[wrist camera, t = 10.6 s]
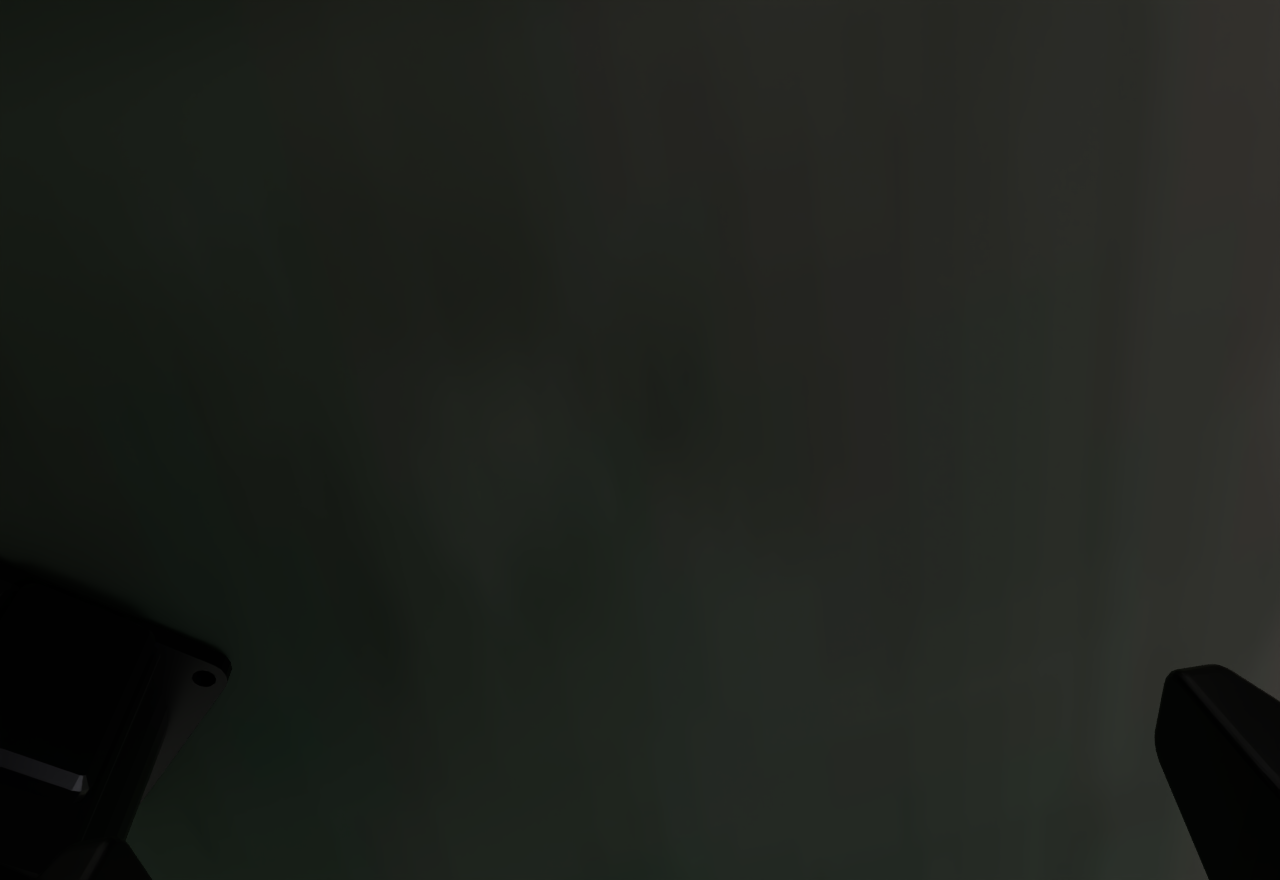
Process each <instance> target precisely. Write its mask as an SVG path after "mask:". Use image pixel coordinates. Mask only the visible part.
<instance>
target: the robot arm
mask: <svg viewBox="0 0 1280 880" xmlns="http://www.w3.org/2000/svg"><path fill="white" fill-rule="evenodd" d="M202 670H203V671H208V672H210V673H212V674H208V673H204V672H202ZM231 670H232V666H231V662H230V661H229V660H228V659H227V657H226V656H224V655H222V654H221V653H219V652H217V651H214V650H212V649H210V648H207V647H205V646H202V645H200V644H197V643H195V642H192V641H190V640H188V639H185V638H183V637H180V636H178V635H175V634H173V633H170V632H168V631H166V630H163V629H161V628H158V627H156V626H153V625H151V624H148V623H146V622H144V621H141V620H139V619H136V618H134V617H131V616H129V615H126V614H124V613H122V612H119V611H117V610H114V609H112V608H109V607H107V606H105V605H102V604H100V603H97V602H95V601H92V600H90V599H87V598H85V597H83V596H80V595H78V594H75V593H73V592H70V591H68V590H65V589H63V588H61V587H58V586H56V585H53V584H51V583H48V582H46V581H43V580H41V579H39V578H36V577H34V576H31V575H29V574H26V573H24V572H21V571H19V570H17V569H14V568H12V567H9V566H7V565H4V564H2V563H0V880H152V878H151V877H150V876H149V874H148V873H147V871H146V870H145V868H144V867H143V865H142V864H141V862H140V861H139V859H138V858H137V856H136V855H135V854H134V852H133V851H132V849H131V848H130V846H129V845H128V844H127V842H126V841H125V840H126V838H127V835H128V832H129V830H130V827H131V825H132V822H133V819H134V817H135V814H136V812H137V809H138V806H139V805H140V804H141V802H142V801H143V799H144V798H145V797H146V795H147V794H148V793H149V791H150V790H151V788H152V787H153V786H154V784H155V783H156V782H157V780H158V779H159V777H160V776H161V775H162V773H163V772H164V771H165V769H166V768H167V767H168V765H169V764H170V762H171V761H172V760H173V758H174V757H175V756H176V754H177V753H178V751H179V750H180V749H181V747H182V746H183V745H184V743H185V742H186V740H187V739H188V738H189V736H190V735H191V734H192V732H193V731H194V730H195V728H196V727H197V725H198V724H199V723H200V721H201V720H202V719H203V717H204V716H205V714H206V713H207V712H208V710H209V709H210V708H211V706H212V705H213V703H214V702H215V701H216V699H217V698H218V697H219V695H220V694H221V692H222V691H223V690H224V688H225V687H226V684H227V681H228V678H229V676H230V673H231ZM1155 747H1156V752H1157V756H1158V759H1159V762H1160V765H1161V767H1162V769H1163V772H1164V774H1165V777H1166V779H1167V781H1168V784H1169V786H1170V788H1171V791H1172V793H1173V796H1174V798H1175V800H1176V803H1177V805H1178V807H1179V810H1180V812H1181V814H1182V817H1183V819H1184V822H1185V824H1186V826H1187V829H1188V831H1189V833H1190V836H1191V838H1192V841H1193V843H1194V845H1195V848H1196V850H1197V852H1198V855H1199V857H1200V860H1201V862H1202V864H1203V867H1204V869H1205V871H1206V874H1207V876H1208V879H1209V880H1280V701H1278V700H1277V699H1275V698H1274V697H1272V696H1271V695H1269V694H1267V693H1266V692H1264V691H1263V690H1261V689H1260V688H1258V687H1257V686H1255V685H1253V684H1252V683H1250V682H1249V681H1247V680H1246V679H1244V678H1242V677H1241V676H1239V675H1238V674H1236V673H1235V672H1233V671H1231V670H1230V669H1228V668H1226V667H1223V666H1220V665H1216V664H1208V665H1202V666H1196V667H1189V668H1183V669H1177V670H1174V671H1172V672H1171V673H1170V674H1169V675H1168V676H1167V677H1166V680H1165V683H1164V687H1163V693H1162V698H1161V703H1160V708H1159V713H1158V718H1157V724H1156V729H1155Z"/></svg>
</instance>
